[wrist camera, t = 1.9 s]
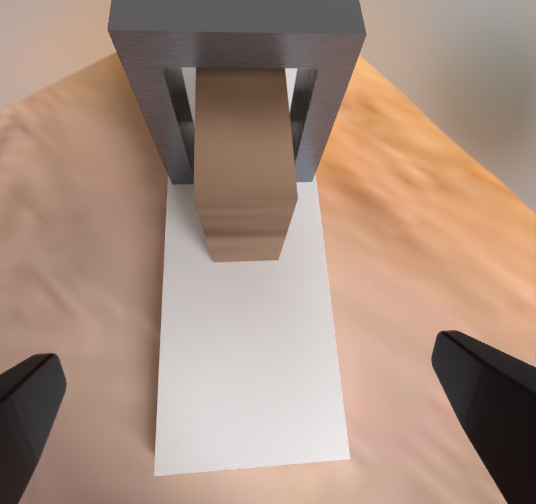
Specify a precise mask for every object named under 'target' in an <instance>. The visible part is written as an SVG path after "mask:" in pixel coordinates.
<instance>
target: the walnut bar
mask: <svg viewBox="0 0 536 504" xmlns="http://www.w3.org/2000/svg"><path fill="white" fill-rule="evenodd" d="M297 200H298V194H297V184H296V174H295V164H294V153H293V143H292V133H291V123H290V113H289V103H288V93H287V83H286V72H285V68H206V67H196V85H195V143H194V204H195V207H196V210H197V213H198V216H199V219H200V222H201V225H202V228H203V231H204V235H205V238H206V241H207V244H208V247H209V250H210V253H211V256H212V259H213V262H214V263H215V262H242V261H269V260H279V257H280V254H281V251H282V247H283V244H284V241H285V238H286V235H287V232H288V229H289V225H290V222H291V219H292V216H293V213H294V210H295V207H296V203H297Z"/></svg>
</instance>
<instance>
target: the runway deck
mask: <svg viewBox="0 0 536 504" xmlns="http://www.w3.org/2000/svg"><path fill="white" fill-rule="evenodd" d="M181 69H182V73H183V78H184V82H185V87H186V91H187V96H188V100H189V105H190V109H191V114H192V118H193V123H194V128H195V85H196V67H181ZM285 72H286V83H287V93H288V103H289V113H290V108H291V102H292V97H293V91H294V85H295V80H296V74H297V68H285ZM296 184H297V194H298V200H297V203H296V207H295V210H294V213H293V216H292V219H291V222H290V225H289V229H288V232H287V235H286V238H285V241H284V244H283V247H282V251H281V254H280V257H279V260H269V261H242V262H215V263H214V262H213V259H212V256H211V253H210V250H209V247H208V244H207V241H206V238H205V235H204V231H203V228H202V225H201V222H200V219H199V216H198V213H197V210H196V207H195V204H194V184H175V185H172V183H171V180H170V178H169V176H168V186H167V207H166V229H165V250H164V272H163V293H162V314H161V336H160V357H159V379H158V400H157V421H156V443H155V464H154V476H163V475H175V474H186V473H197V472H209V471H220V470H231V469H243V468H254V467H265V466H277V465H288V464H299V463H311V462H322V461H333V460H345V459H350V454H349V446H348V437H347V429H346V421H345V413H344V405H343V396H342V388H341V380H340V372H339V363H338V355H337V347H336V339H335V330H334V322H333V314H332V306H331V298H330V289H329V281H328V273H327V265H326V256H325V248H324V240H323V232H322V224H321V215H320V207H319V199H318V191H317V182H316V174H315V176H314V178H313V181H312V182H296Z"/></svg>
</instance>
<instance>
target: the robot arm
mask: <svg viewBox="0 0 536 504" xmlns="http://www.w3.org/2000/svg"><path fill="white" fill-rule="evenodd" d="M431 361H432V366H433V368H434V371H435V373H436V375H437V377H438V379H439V381H440V383H441V385H442V387H443V389H444V391H445V393H446V396H447V398H448V400H449V402H450V404H451V406H452V408H453V410H454V412H455V414H456V416H457V418H458V420H459V422H460V424H461V426H462V428H463V430H464V431H465V433H466V435H467V437H468V438H469V440H470V442H471V443H472V445H473V447H474V448H475V450H476V452H477V453H478V455H479V457H480V458H481V460H482V462H483V463H484V465H485V467H486V468H487V470H488V472H489V473H490V475H491V477H492V478H493V480H494V482H495V483H496V485H497V487H498V488H499V490H500V492H501V493H502V495H503V497H504V498H505V500H506V502H507V503H508V504H536V367H534V366H532V365H529V364H527V363H525V362H523V361H521V360H519V359H517V358H515V357H512V356H510V355H508V354H506V353H504V352H502V351H500V350H498V349H495V348H493V347H491V346H489V345H487V344H485V343H483V342H481V341H479V340H476V339H474V338H472V337H470V336H468V335H466V334H464V333H462V332H459V331H456V330H450V331H441V332H439V333H438V334H437V337H436V341H435V345H434V349H433V353H432V358H431ZM65 391H66V378H65V375H64V372H63V369H62V366H61V363H60V360H59V357H58V356H57V355H56V354H54V353H45V354H35V355H33V356H31V357H29V358H28V359H26V360H24V361H23V362H21V363H19V364H17V365H16V366H14V367H12V368H11V369H9V370H7V371H6V372H4V373H2V374H0V504H18V503H19V501H20V499H21V497H22V495H23V493H24V491H25V489H26V487H27V485H28V483H29V481H30V479H31V477H32V475H33V472H34V470H35V468H36V466H37V464H38V462H39V459H40V457H41V454H42V452H43V449H44V447H45V444H46V442H47V439H48V436H49V434H50V431H51V428H52V426H53V423H54V420H55V418H56V415H57V412H58V410H59V407H60V404H61V402H62V399H63V397H64V394H65Z"/></svg>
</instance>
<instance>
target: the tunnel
mask: <svg viewBox="0 0 536 504" xmlns="http://www.w3.org/2000/svg"><path fill="white" fill-rule="evenodd" d="M108 32H109V34H110V37H111V39H112V42H113V44H114V46H115V49H116V51H117V54H118V56H119V58H120V61H121V63H122V66H123V68H124V70H125V73H126V75H127V78H128V80H129V82H130V85H131V87H132V89H133V92H134V94H135V97H136V99H137V101H138V104H139V106H140V109H141V111H142V113H143V116H144V118H145V121H146V123H147V125H148V128H149V130H150V133H151V135H152V137H153V140H154V142H155V145H156V147H157V149H158V152H159V154H160V156H161V159H162V161H163V164H164V166H165V168H166V171H167V173H168V176H169V178H170V180H171V183H172V185H175V184H194V143H195V128H194V123H193V118H192V114H191V109H190V105H189V100H188V96H187V91H186V87H185V82H184V78H183V73H182V69H181V67H206V68H297V74H296V80H295V85H294V91H293V97H292V102H291V108H290V123H291V133H292V143H293V153H294V164H295V174H296V182H312V181H313V178H314V176H315V173H316V170H317V168H318V165H319V162H320V159H321V157H322V154H323V151H324V149H325V146H326V143H327V140H328V138H329V135H330V132H331V130H332V127H333V124H334V121H335V119H336V116H337V113H338V111H339V108H340V105H341V102H342V100H343V97H344V94H345V92H346V89H347V86H348V83H349V81H350V78H351V75H352V73H353V70H354V67H355V64H356V62H357V59H358V56H359V54H360V51H361V48H362V45H363V43H364V40H365V37H366V31H365V26H364V21H363V17H362V12H361V7H360V3H359V0H112V1H111V8H110V15H109V23H108Z"/></svg>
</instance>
